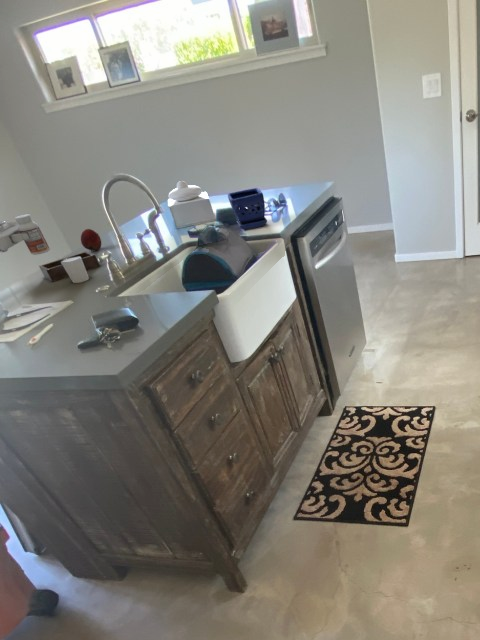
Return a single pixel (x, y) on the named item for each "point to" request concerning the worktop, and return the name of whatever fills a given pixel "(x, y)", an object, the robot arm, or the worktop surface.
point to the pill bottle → (32, 235)
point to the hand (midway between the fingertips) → (33, 232)
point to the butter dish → (189, 205)
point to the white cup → (75, 269)
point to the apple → (90, 240)
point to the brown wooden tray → (57, 270)
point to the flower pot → (248, 208)
